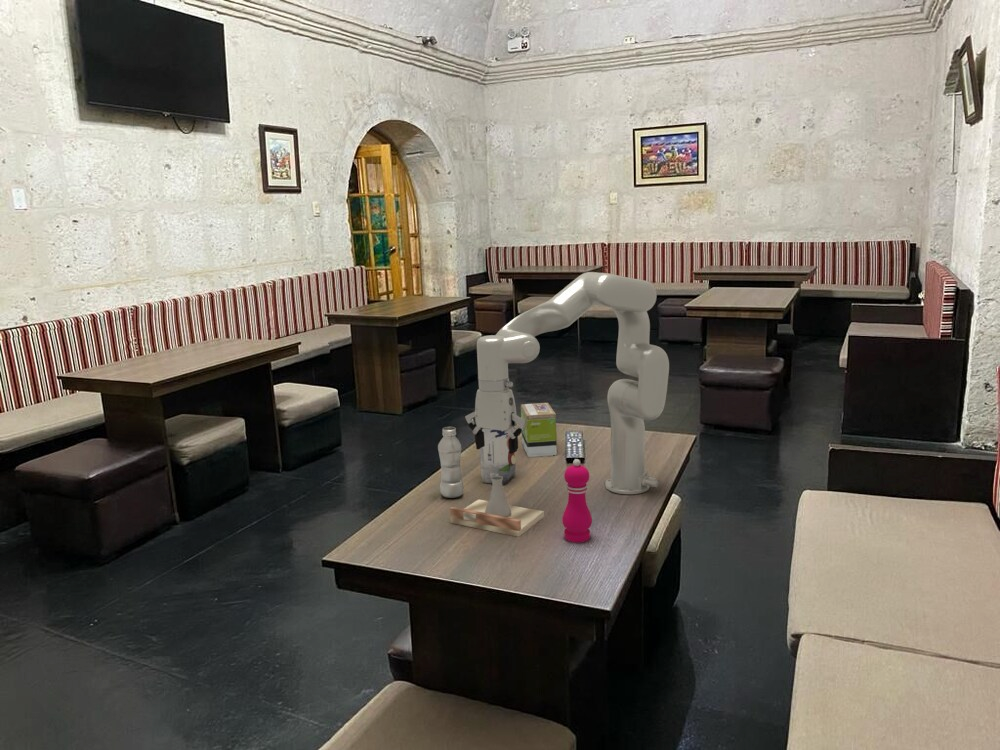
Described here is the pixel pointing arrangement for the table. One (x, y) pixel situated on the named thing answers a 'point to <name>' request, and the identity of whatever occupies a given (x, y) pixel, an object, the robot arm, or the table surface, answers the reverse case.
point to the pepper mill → (576, 504)
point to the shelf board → (496, 518)
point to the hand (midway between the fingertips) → (496, 450)
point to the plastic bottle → (450, 464)
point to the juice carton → (496, 456)
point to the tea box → (539, 430)
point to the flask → (498, 499)
